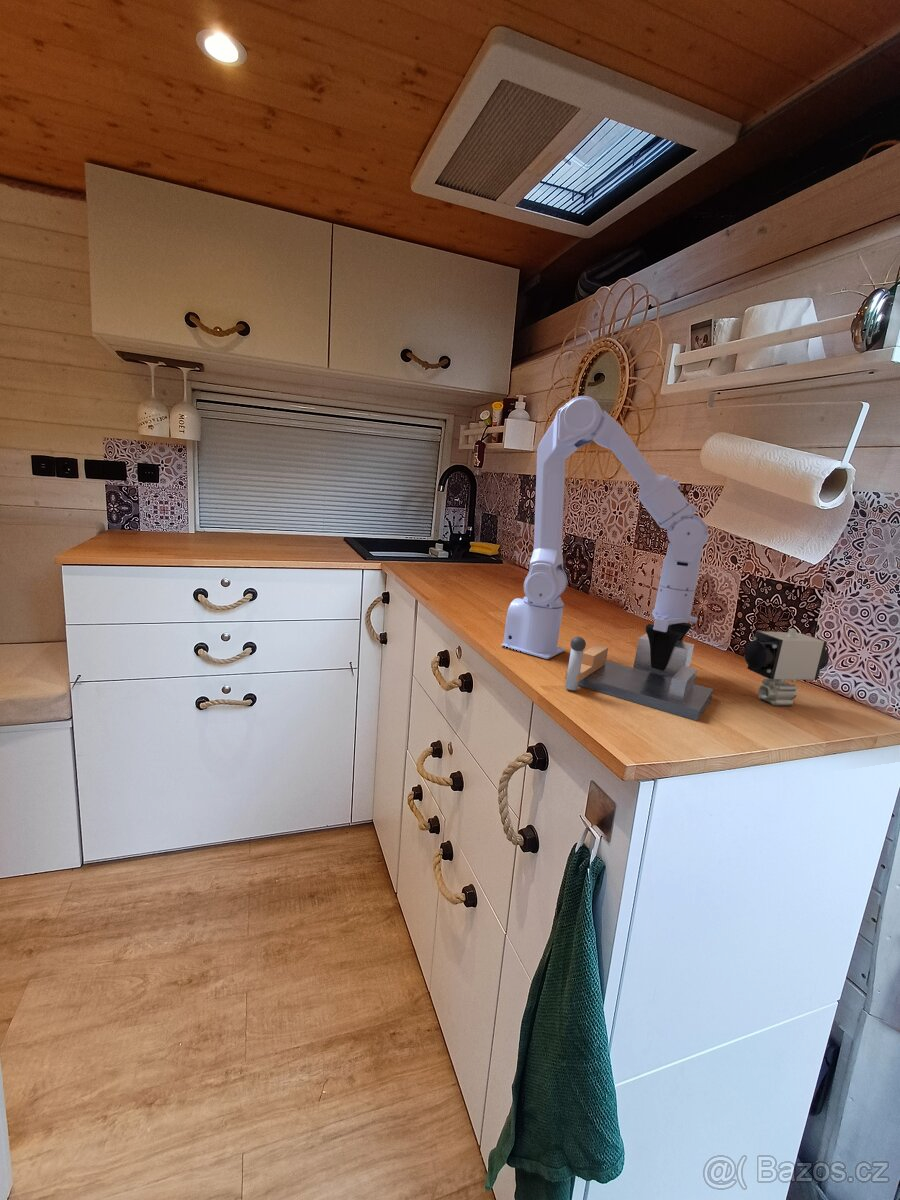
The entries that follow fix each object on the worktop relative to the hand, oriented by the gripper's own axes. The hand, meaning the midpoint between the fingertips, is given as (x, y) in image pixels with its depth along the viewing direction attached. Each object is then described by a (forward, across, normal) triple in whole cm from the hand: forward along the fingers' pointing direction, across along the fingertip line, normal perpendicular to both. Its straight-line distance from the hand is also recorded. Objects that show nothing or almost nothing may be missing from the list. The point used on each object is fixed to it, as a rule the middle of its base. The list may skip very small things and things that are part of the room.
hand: (661, 665), depth 95 cm
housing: (+2, 0, 0) cm, 2 cm away
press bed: (+2, -11, 0) cm, 11 cm away
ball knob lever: (+2, -14, +8) cm, 17 cm away
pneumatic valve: (+2, +2, -17) cm, 17 cm away
